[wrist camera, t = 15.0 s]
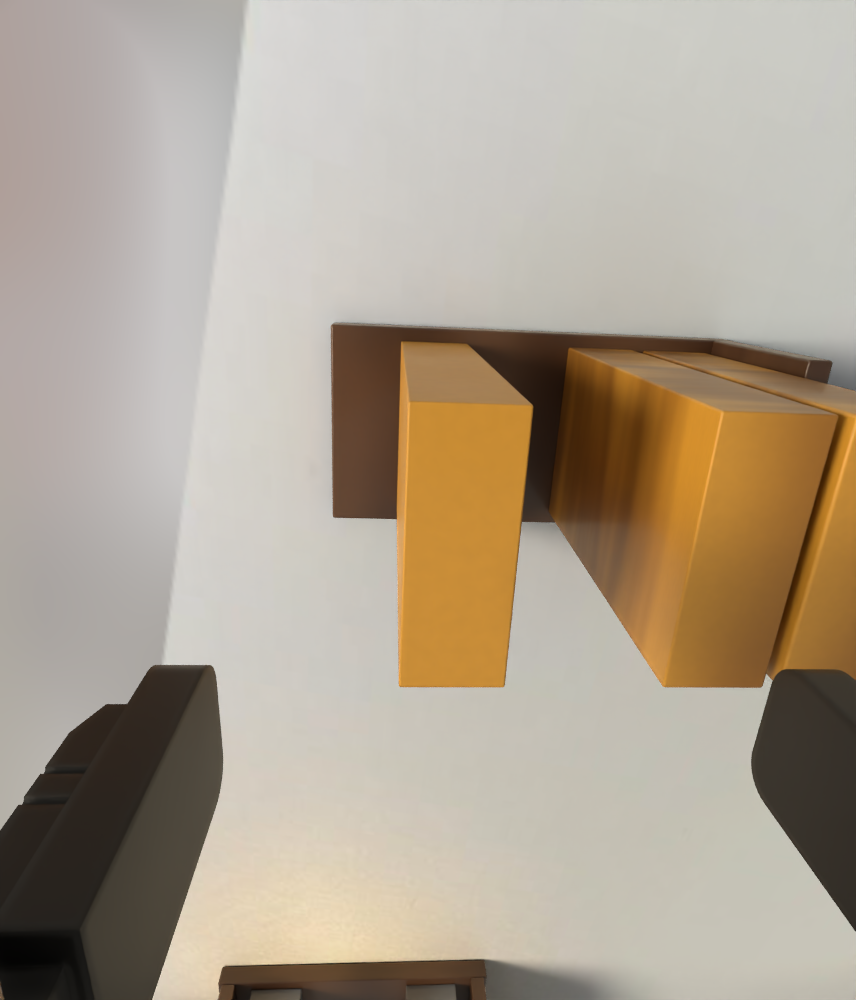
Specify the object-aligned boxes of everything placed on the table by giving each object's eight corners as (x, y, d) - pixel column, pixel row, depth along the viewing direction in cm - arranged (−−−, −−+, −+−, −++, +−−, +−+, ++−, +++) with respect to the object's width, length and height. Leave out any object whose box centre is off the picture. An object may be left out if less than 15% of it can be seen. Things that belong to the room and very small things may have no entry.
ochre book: (396, 509, 26) (398, 688, 15) (401, 341, 24) (408, 401, 12) (457, 510, 26) (504, 688, 15) (467, 343, 24) (534, 405, 12)
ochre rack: (334, 509, 27) (285, 703, 15) (333, 322, 24) (271, 370, 12) (685, 517, 28) (910, 705, 16) (722, 338, 25) (1029, 398, 13)
